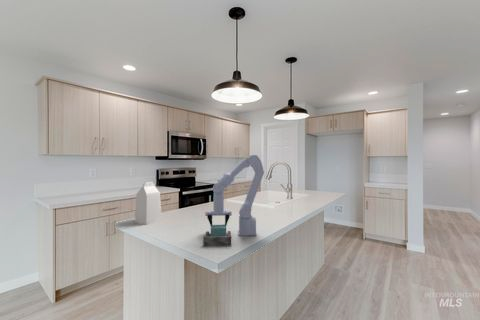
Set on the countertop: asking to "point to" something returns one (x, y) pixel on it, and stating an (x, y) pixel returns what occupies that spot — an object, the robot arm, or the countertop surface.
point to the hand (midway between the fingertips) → (218, 228)
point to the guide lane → (216, 240)
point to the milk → (148, 204)
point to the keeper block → (218, 230)
